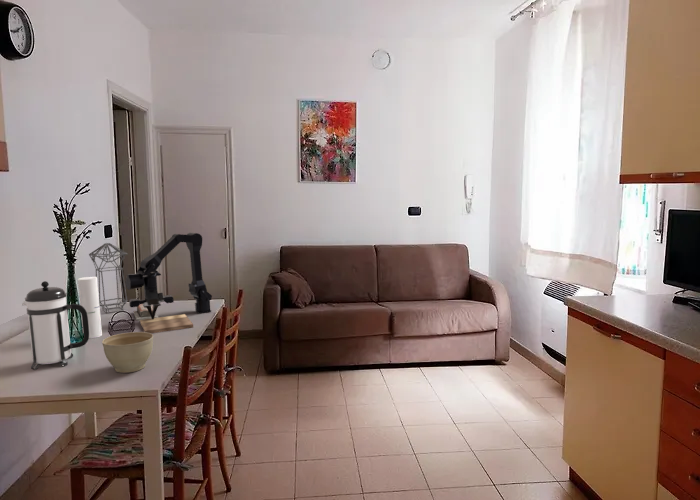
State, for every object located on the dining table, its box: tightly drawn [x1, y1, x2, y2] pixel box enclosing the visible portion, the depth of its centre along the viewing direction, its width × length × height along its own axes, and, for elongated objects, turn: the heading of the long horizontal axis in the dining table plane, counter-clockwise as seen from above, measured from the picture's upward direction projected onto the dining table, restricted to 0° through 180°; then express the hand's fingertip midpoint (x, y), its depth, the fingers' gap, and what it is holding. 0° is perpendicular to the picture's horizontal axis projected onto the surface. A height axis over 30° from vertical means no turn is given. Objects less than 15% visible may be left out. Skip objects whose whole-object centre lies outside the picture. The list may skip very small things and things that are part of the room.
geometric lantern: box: [88, 242, 129, 314], centre depth 261 cm, size 16×16×35 cm
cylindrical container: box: [77, 276, 103, 339], centre depth 216 cm, size 7×7×25 cm
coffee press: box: [21, 281, 90, 371], centre depth 183 cm, size 17×16×30 cm
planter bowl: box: [101, 331, 154, 374], centre depth 176 cm, size 16×16×11 cm
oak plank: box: [139, 313, 188, 326], centre depth 239 cm, size 20×7×2 cm, turn 117°
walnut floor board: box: [141, 316, 194, 334], centre depth 229 cm, size 20×14×2 cm
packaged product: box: [133, 304, 160, 322], centre depth 251 cm, size 18×5×10 cm
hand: (152, 319), depth 238 cm, fingers closed
